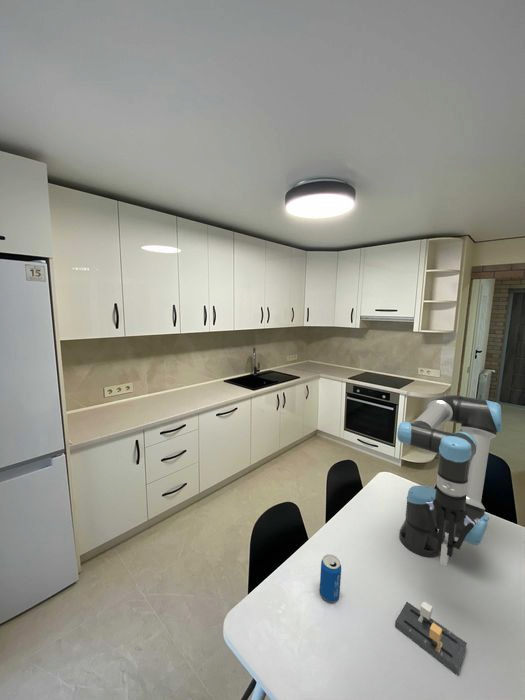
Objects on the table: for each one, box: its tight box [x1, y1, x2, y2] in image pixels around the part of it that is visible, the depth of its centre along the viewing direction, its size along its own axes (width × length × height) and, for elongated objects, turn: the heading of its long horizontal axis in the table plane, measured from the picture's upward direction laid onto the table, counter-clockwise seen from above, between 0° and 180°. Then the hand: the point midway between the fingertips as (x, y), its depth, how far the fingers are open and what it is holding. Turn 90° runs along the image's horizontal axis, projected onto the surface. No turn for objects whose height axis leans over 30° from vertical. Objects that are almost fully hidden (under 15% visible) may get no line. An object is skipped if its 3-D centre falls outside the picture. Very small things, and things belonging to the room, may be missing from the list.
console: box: [394, 601, 468, 676], centre depth 83 cm, size 16×9×2 cm, turn 43°
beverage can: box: [319, 553, 342, 603], centre depth 95 cm, size 6×6×12 cm
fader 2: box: [429, 623, 442, 646], centre depth 80 cm, size 2×2×4 cm
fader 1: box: [420, 600, 433, 622], centre depth 86 cm, size 2×2×4 cm
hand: (443, 562), depth 88 cm, fingers closed
